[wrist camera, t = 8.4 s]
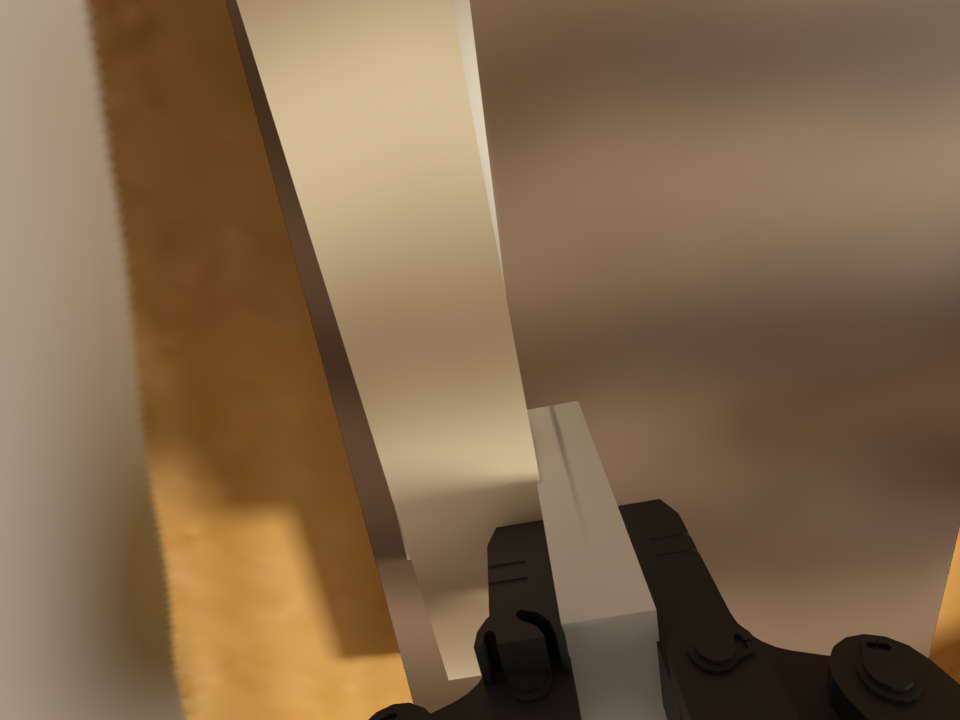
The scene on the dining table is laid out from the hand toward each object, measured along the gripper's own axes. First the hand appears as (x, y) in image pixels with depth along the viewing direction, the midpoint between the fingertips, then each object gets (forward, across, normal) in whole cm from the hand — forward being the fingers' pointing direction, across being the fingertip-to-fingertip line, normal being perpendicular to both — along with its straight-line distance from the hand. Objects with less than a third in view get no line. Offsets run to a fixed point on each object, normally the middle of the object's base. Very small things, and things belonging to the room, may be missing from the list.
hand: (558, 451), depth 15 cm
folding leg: (+1, +2, -5) cm, 5 cm away
